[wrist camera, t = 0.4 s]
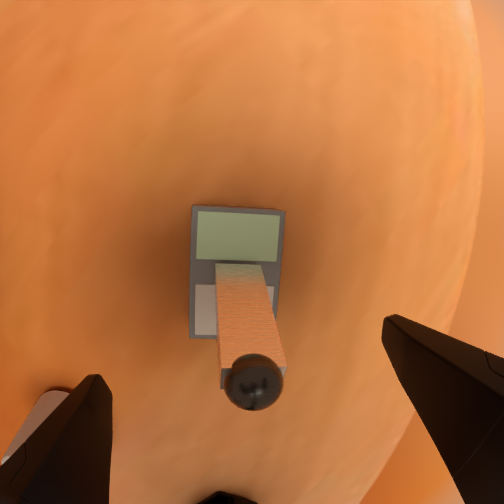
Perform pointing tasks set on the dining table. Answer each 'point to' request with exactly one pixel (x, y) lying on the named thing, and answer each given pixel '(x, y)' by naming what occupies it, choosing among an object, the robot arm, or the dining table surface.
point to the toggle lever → (247, 338)
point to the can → (35, 418)
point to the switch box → (230, 255)
